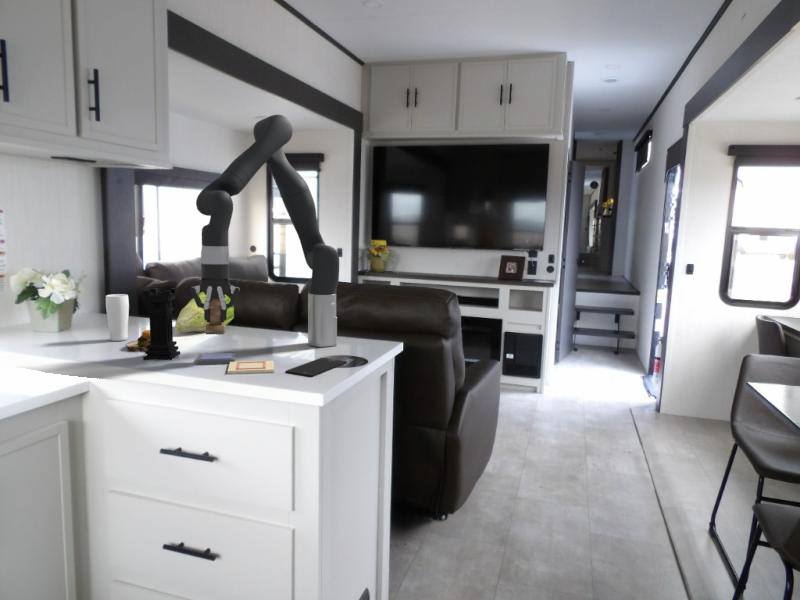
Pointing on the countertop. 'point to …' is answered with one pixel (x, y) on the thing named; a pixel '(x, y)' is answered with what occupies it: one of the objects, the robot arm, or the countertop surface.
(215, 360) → the ink pad
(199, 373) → the countertop surface
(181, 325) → the lettuce
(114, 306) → the drinking glass
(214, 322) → the stamp
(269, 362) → the board
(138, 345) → the burger
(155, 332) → the chess piece
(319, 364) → the cell phone
